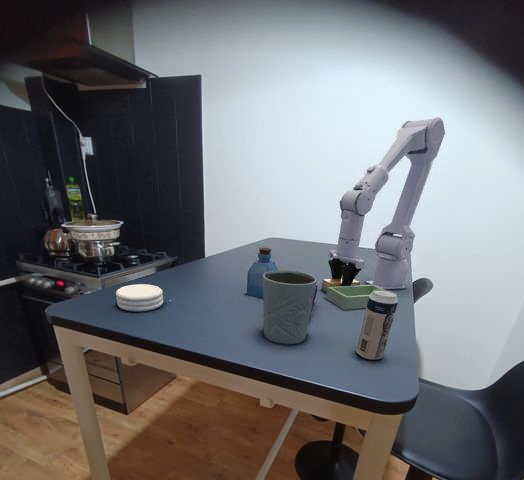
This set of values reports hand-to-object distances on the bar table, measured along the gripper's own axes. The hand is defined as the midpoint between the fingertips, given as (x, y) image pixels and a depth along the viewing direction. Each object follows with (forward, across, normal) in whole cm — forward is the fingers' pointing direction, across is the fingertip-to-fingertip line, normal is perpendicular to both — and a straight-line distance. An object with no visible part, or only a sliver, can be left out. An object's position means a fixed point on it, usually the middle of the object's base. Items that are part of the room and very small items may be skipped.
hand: (340, 287), depth 93 cm
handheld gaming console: (+2, +10, -21) cm, 23 cm away
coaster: (+2, 0, -55) cm, 55 cm away
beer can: (+2, +35, -17) cm, 39 cm away
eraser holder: (+1, +9, 0) cm, 9 cm away
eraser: (+1, 0, 0) cm, 1 cm away
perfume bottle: (+2, -2, -24) cm, 24 cm away
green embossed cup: (+2, +23, -29) cm, 37 cm away
